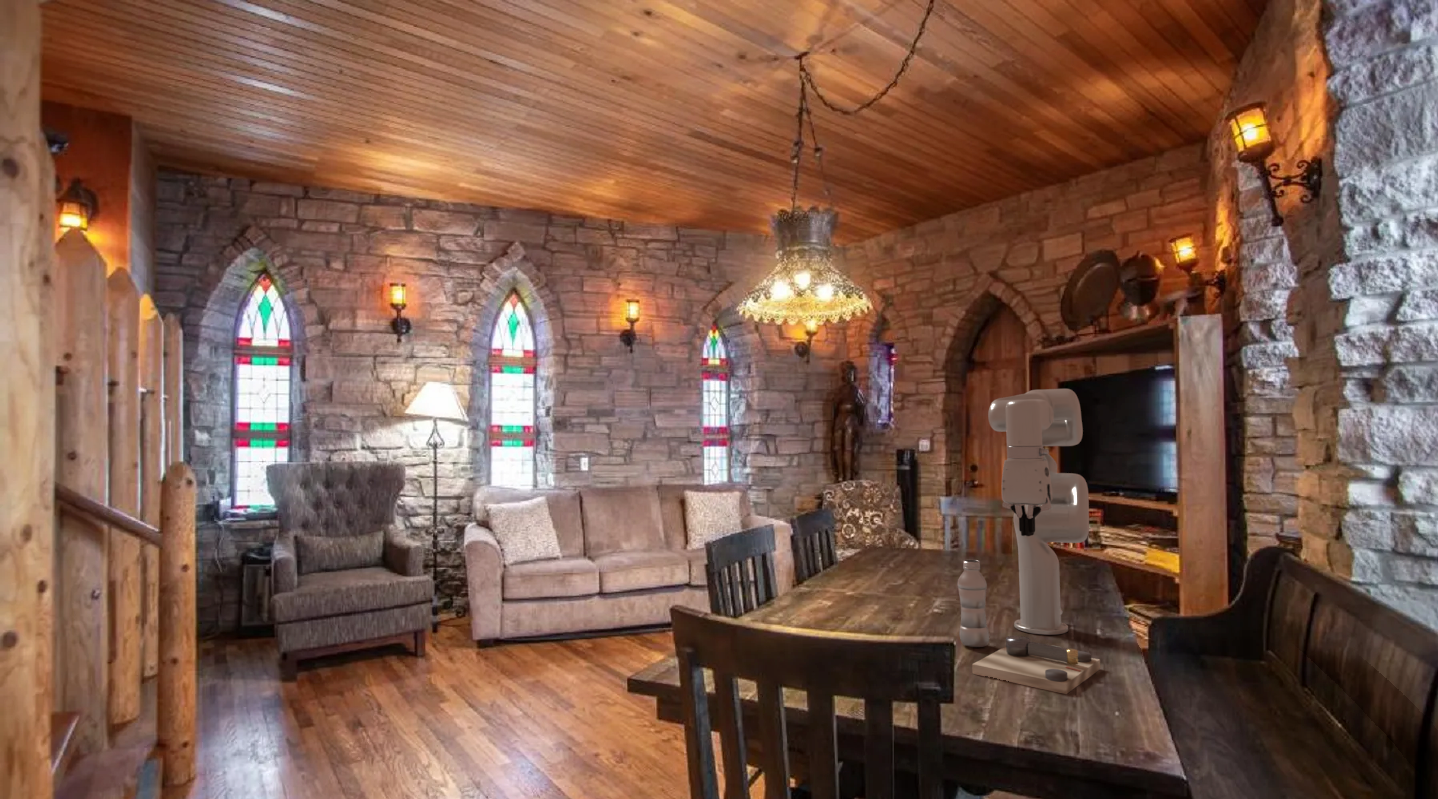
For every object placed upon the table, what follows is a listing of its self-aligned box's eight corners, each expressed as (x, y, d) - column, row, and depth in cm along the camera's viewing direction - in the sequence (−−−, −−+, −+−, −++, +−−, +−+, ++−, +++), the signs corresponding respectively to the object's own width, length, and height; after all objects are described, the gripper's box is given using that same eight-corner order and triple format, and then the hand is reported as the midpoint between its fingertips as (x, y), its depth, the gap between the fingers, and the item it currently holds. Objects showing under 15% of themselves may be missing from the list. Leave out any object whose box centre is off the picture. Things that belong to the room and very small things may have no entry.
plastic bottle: (991, 650, 176) (988, 563, 177) (960, 649, 178) (958, 563, 179) (987, 643, 183) (984, 558, 183) (958, 642, 184) (955, 558, 185)
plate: (1011, 652, 175) (1011, 637, 175) (1100, 669, 162) (1099, 653, 162) (972, 673, 161) (972, 657, 161) (1066, 694, 148) (1065, 676, 148)
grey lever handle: (1002, 652, 167) (1001, 639, 167) (1012, 647, 171) (1012, 634, 171) (1073, 667, 156) (1072, 652, 156) (1082, 662, 160) (1082, 647, 160)
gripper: (1064, 453, 171) (1067, 536, 171) (999, 453, 181) (1002, 530, 181) (1052, 455, 166) (1055, 540, 165) (985, 454, 176) (988, 534, 175)
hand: (1027, 535), depth 173 cm, fingers closed
